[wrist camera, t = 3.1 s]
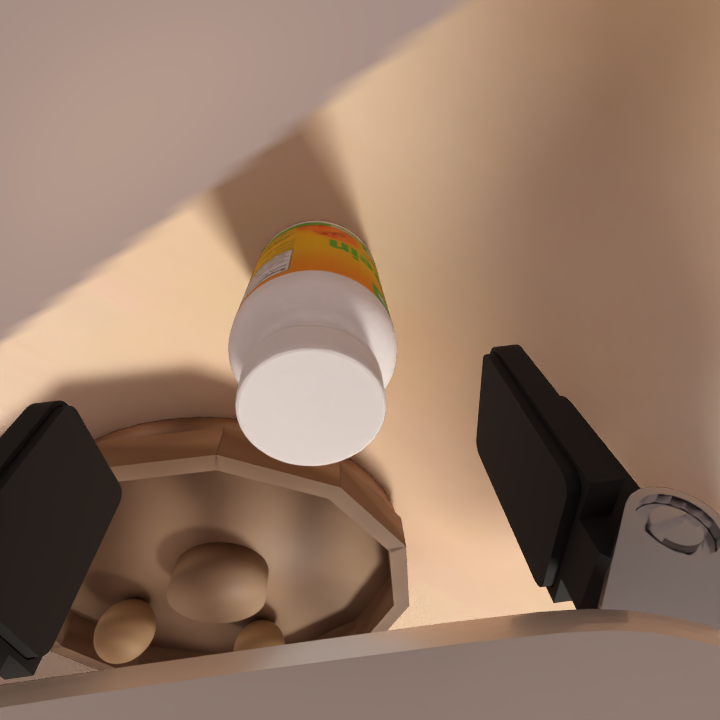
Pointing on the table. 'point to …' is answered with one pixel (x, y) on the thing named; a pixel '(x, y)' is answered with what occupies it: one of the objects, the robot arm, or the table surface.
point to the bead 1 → (124, 631)
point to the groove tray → (236, 545)
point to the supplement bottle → (312, 347)
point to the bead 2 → (259, 636)
